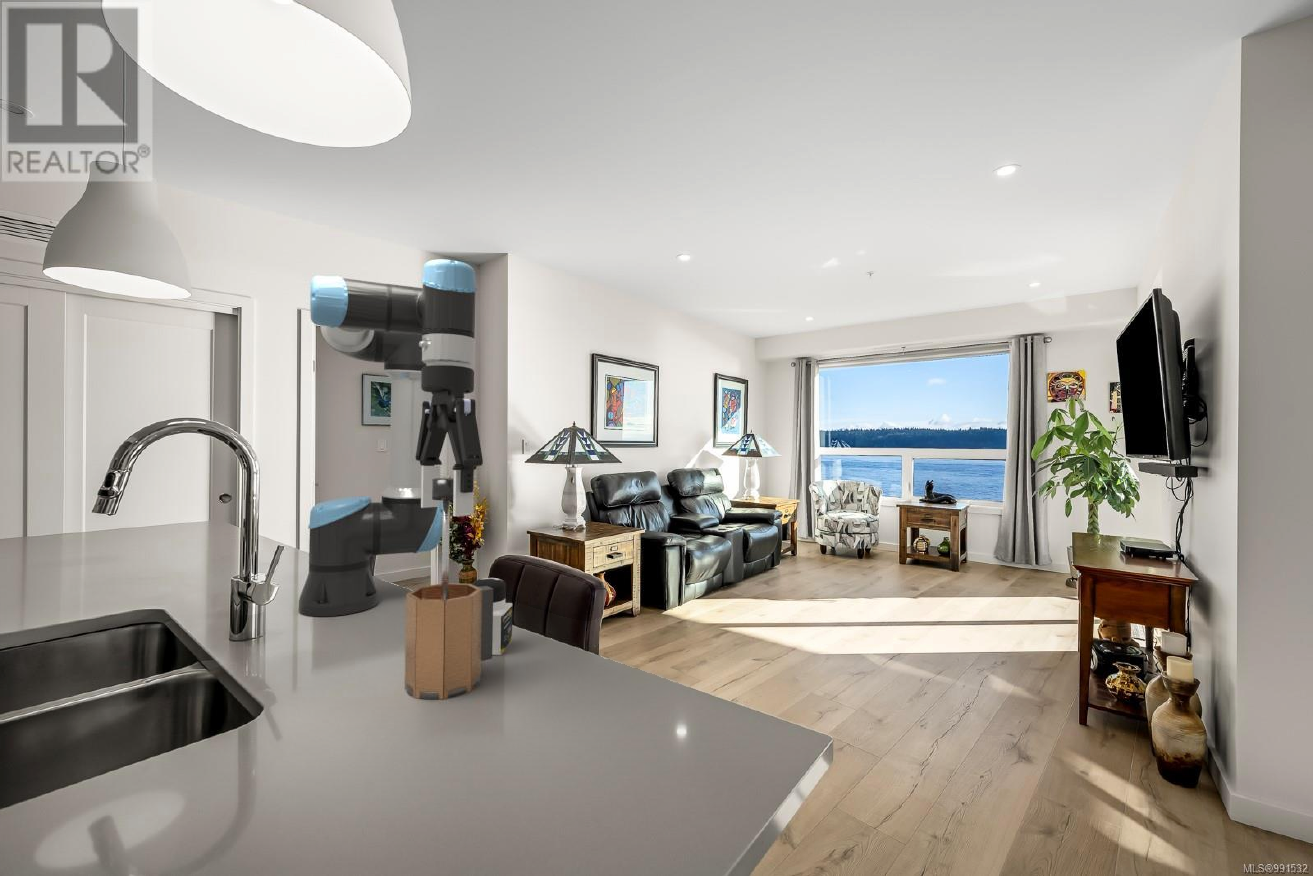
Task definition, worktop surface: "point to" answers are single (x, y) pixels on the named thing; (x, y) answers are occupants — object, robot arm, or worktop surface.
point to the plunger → (444, 525)
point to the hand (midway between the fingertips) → (446, 511)
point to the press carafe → (447, 639)
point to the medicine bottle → (499, 614)
